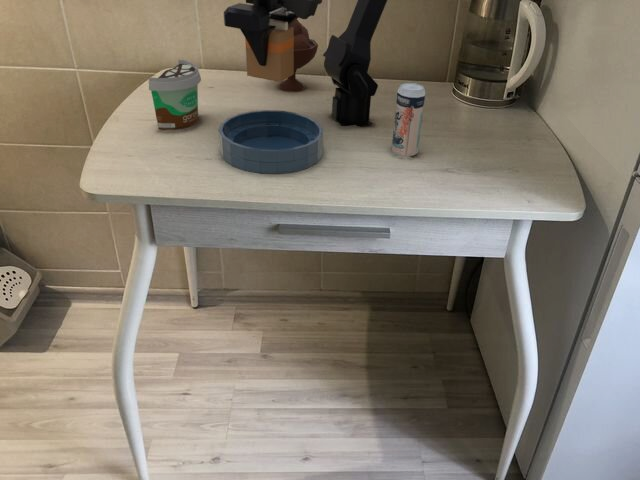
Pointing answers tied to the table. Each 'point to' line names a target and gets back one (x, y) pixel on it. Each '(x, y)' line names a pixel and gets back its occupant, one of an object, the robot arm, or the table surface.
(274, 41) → the carton
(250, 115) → the bowl
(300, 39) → the ice cream bowl
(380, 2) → the robot arm
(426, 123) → the table surface
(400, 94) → the beer can
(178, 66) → the food container
